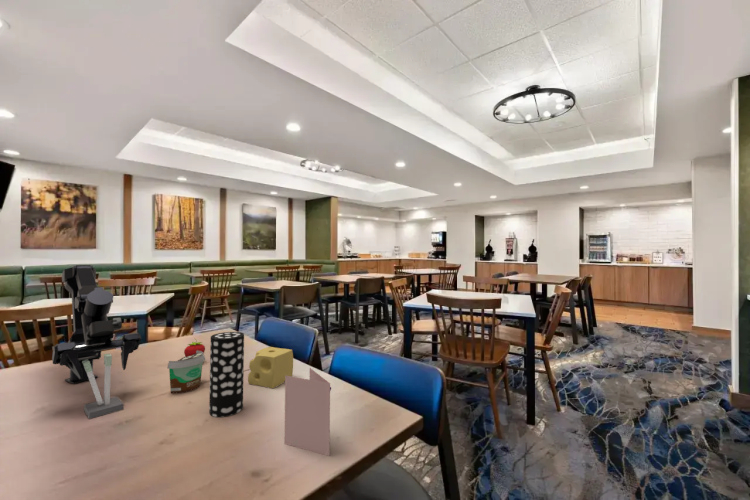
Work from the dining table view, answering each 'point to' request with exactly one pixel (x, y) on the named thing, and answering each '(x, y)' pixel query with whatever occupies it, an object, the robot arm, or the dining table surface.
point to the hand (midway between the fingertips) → (103, 373)
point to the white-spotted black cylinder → (226, 374)
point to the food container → (186, 373)
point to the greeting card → (307, 413)
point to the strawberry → (194, 348)
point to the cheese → (270, 367)
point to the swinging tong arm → (92, 381)
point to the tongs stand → (108, 403)
